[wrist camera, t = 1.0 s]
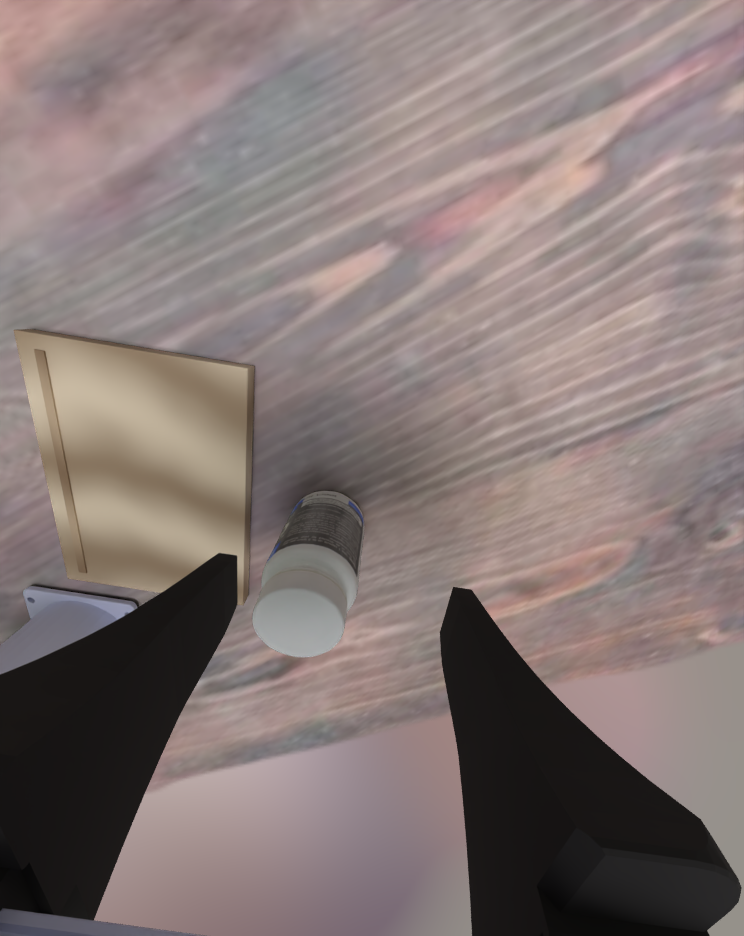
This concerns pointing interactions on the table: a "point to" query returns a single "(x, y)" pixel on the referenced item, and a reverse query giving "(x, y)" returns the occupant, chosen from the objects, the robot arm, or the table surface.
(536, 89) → the table surface
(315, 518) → the pill bottle
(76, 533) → the beech board
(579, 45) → the table surface
